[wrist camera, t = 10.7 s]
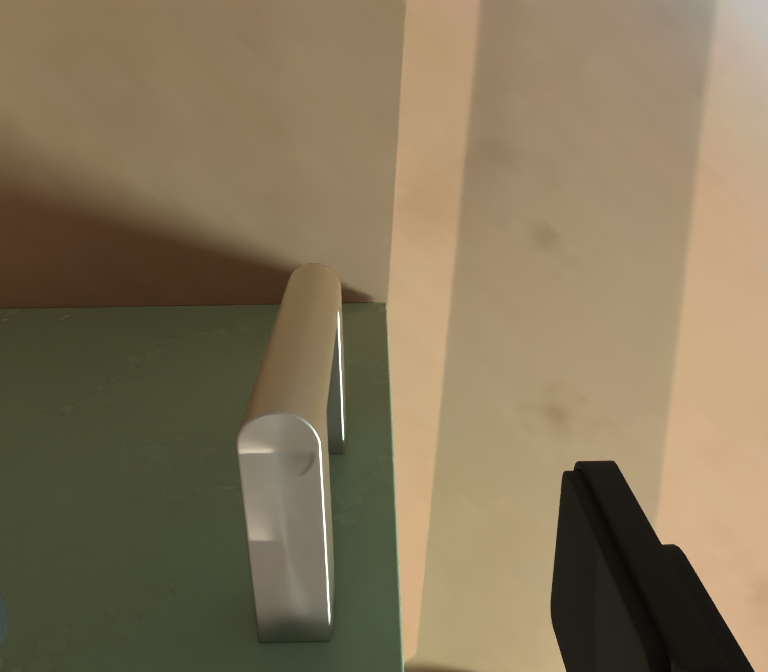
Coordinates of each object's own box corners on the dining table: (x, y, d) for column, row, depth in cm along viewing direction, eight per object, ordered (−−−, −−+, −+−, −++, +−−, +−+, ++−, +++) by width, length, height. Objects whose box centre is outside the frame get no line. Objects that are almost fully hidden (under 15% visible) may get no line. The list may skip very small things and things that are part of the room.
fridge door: (-100, 189, 35) (-870, 456, 13) (385, 182, 36) (404, 434, 14) (-61, 326, 38) (-640, 727, 16) (386, 319, 39) (404, 705, 17)
